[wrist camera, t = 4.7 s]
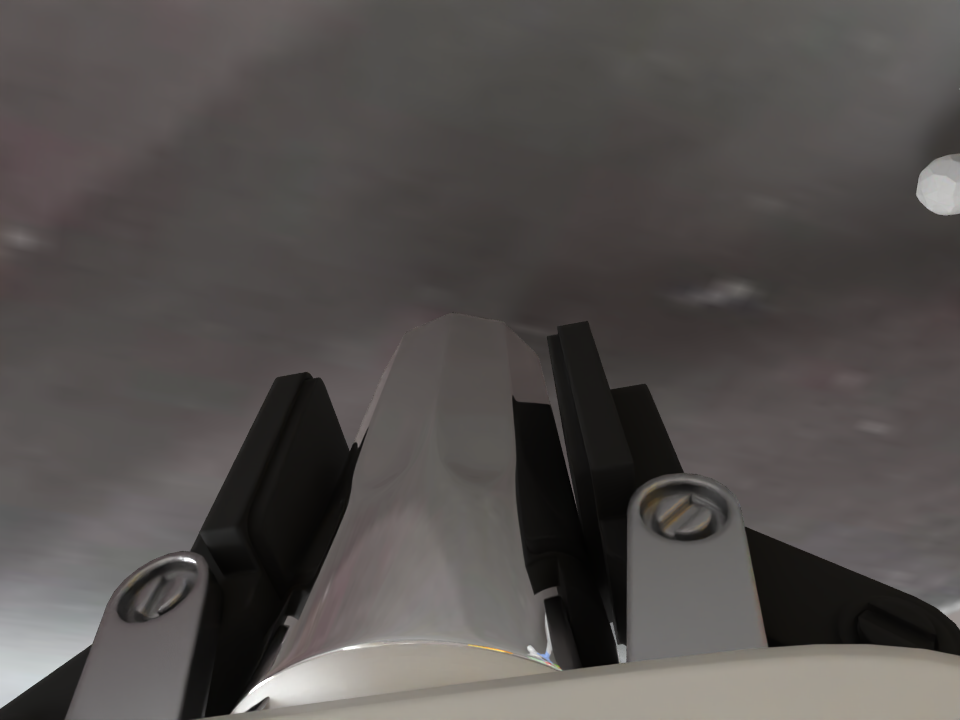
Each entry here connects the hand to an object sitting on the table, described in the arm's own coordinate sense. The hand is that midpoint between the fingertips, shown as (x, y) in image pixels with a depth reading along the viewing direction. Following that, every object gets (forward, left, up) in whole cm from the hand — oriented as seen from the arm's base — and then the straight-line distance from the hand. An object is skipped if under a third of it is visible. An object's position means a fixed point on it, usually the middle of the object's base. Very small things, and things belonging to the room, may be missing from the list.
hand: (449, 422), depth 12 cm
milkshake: (0, 0, -2) cm, 2 cm away
